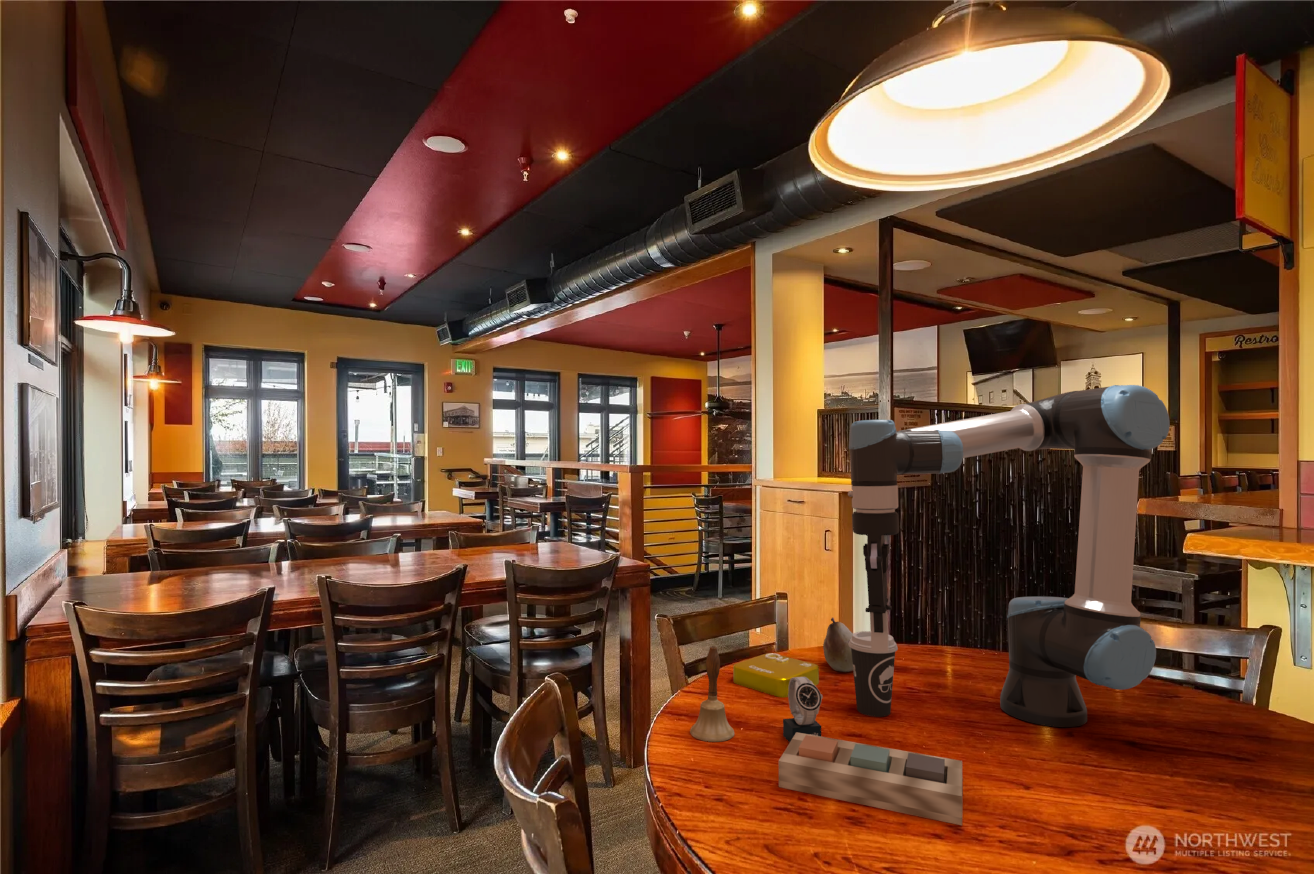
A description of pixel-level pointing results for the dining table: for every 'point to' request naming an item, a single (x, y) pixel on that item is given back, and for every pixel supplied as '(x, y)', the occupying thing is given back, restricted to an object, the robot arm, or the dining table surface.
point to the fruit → (838, 647)
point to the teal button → (871, 758)
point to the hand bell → (712, 707)
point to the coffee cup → (872, 675)
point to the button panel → (874, 782)
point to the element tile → (773, 673)
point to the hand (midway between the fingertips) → (880, 649)
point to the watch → (802, 708)
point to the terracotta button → (819, 748)
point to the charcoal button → (925, 768)
